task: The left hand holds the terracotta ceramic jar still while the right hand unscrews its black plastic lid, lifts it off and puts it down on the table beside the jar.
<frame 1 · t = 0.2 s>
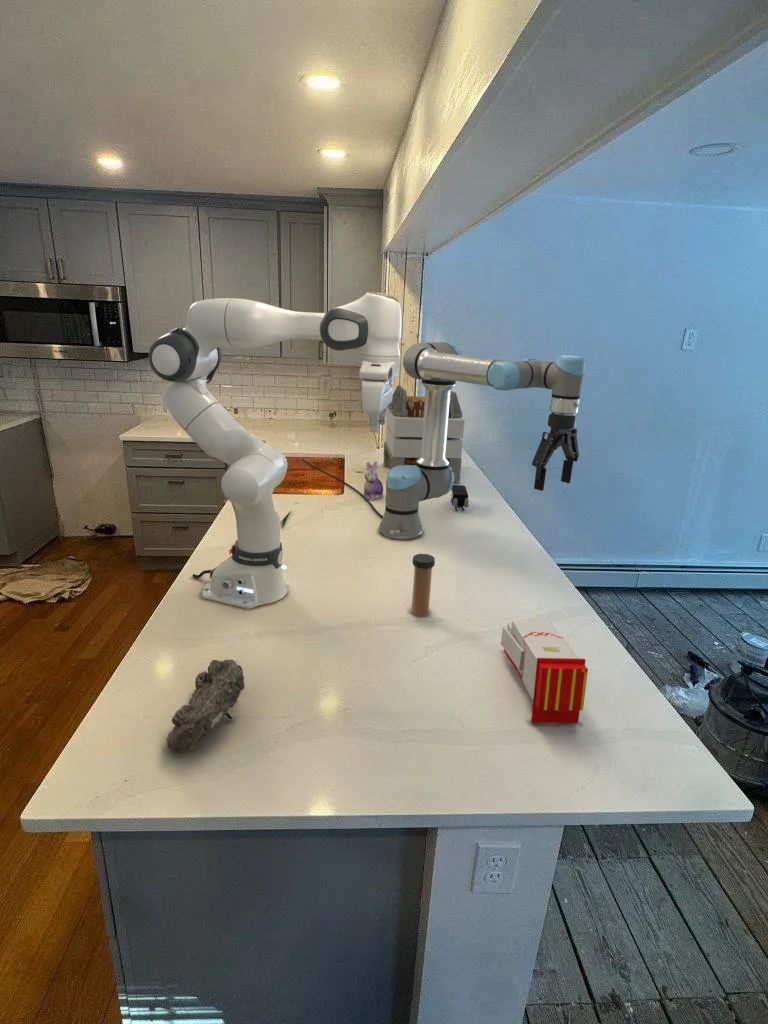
left hand: (377, 427, 135), 48 cm above the counter, tool pointing down, fingers open, 8 cm apart
right hand: (552, 485, 166), 28 cm above the counter, tool pointing down, fingers open, 13 cm apart
toy: (534, 680, 123), on the counter
jar: (419, 611, 149), on the counter
lid: (423, 559, 144), point 15 cm above the counter, screwed on, not yet turned
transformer: (419, 473, 275), on the counter
figurine: (372, 497, 237), on the counter
figurine character: (458, 507, 230), on the counter
feather: (289, 514, 213), on the counter
fossil: (212, 717, 108), on the counter
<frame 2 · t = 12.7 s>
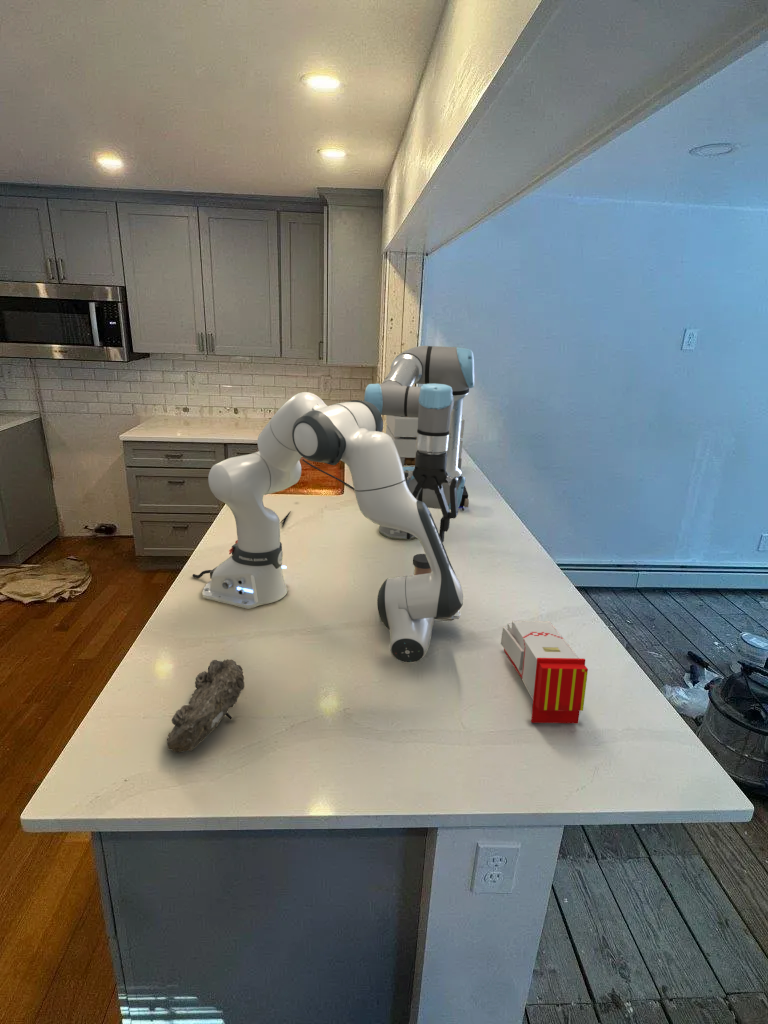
left hand: (421, 588, 148), 6 cm above the counter, tool horizontal, fingers closed on jar, 4 cm apart
right hand: (425, 539, 142), 21 cm above the counter, tool pointing down, fingers open, 7 cm apart
jar: (420, 611, 149), on the counter, touching left hand
everything else where it was.
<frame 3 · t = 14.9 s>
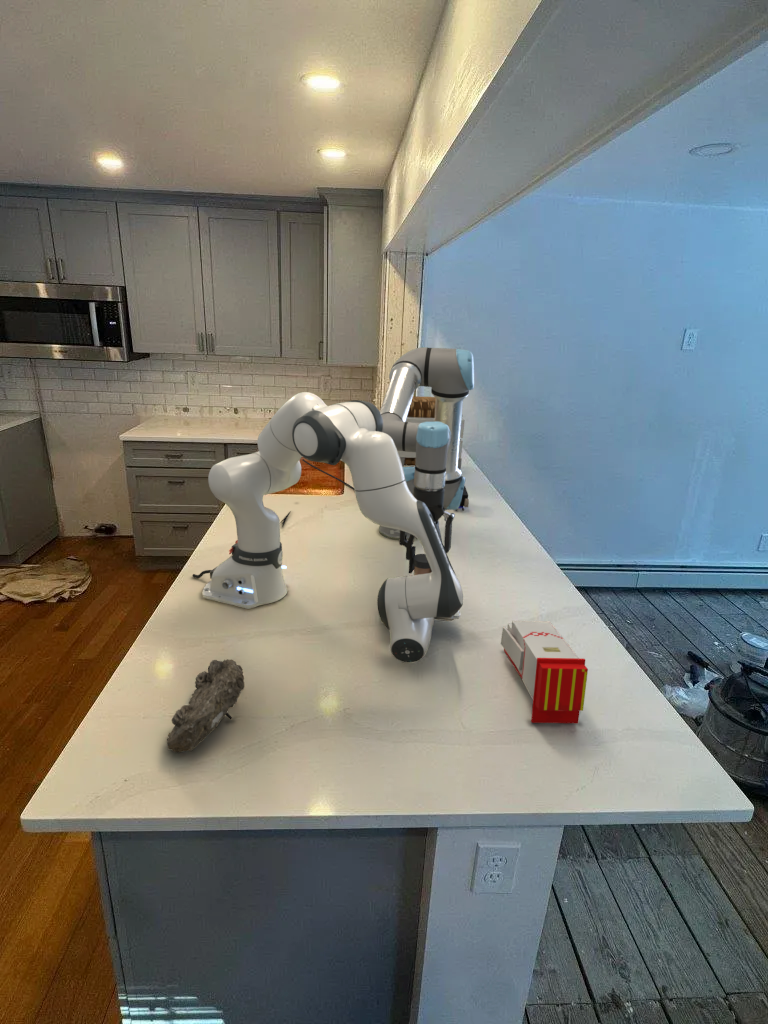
left hand: (421, 588, 148), 6 cm above the counter, tool horizontal, fingers closed on jar, 4 cm apart
right hand: (422, 573, 145), 11 cm above the counter, tool pointing down, fingers closed on lid, 5 cm apart
jar: (420, 611, 149), on the counter, touching left hand
lid: (423, 559, 144), point 15 cm above the counter, screwed on, not yet turned, touching right hand
everything else where it was.
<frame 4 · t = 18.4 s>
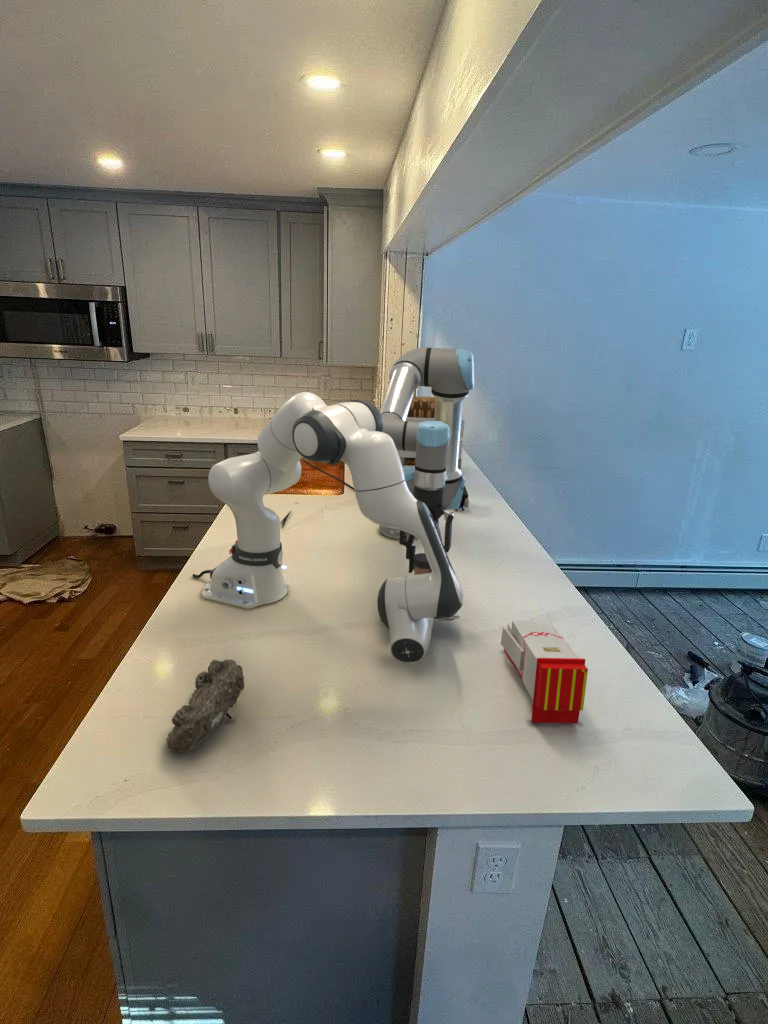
left hand: (421, 588, 148), 6 cm above the counter, tool horizontal, fingers closed on jar, 4 cm apart
right hand: (422, 572, 145), 11 cm above the counter, tool pointing down, fingers closed on lid, 5 cm apart
jar: (420, 611, 149), on the counter, touching left hand
lid: (423, 558, 144), point 15 cm above the counter, turned 118° so far, risen 0.2 cm, still on its thread, touching right hand
everything else where it was.
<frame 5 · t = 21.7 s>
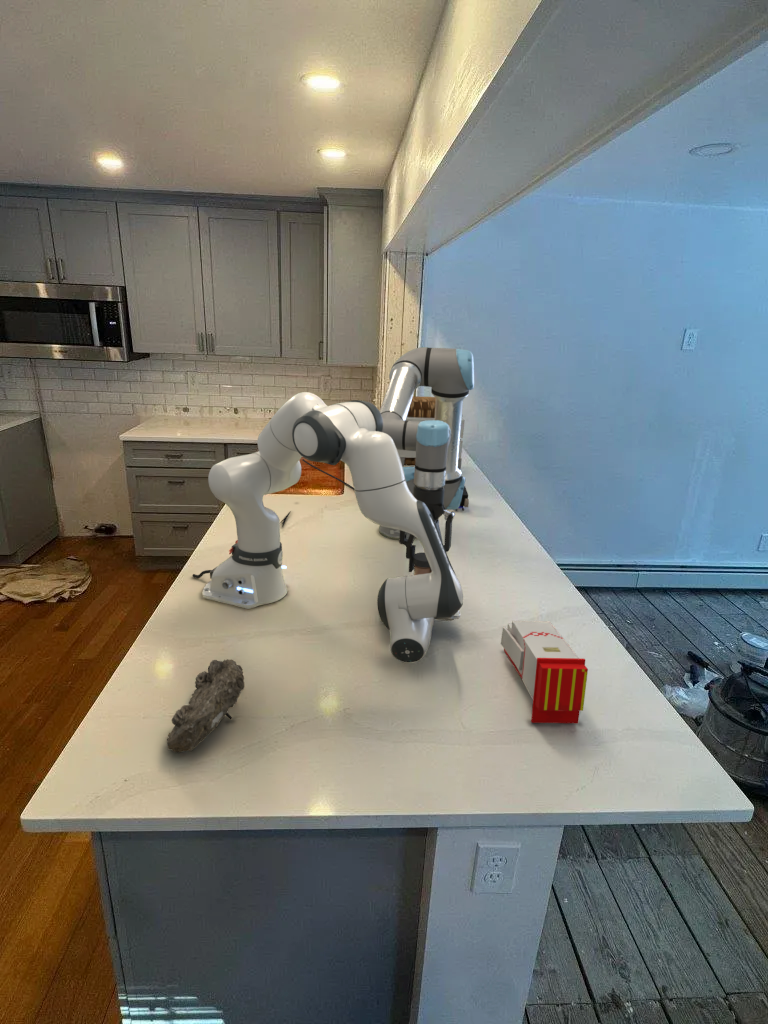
left hand: (421, 588, 148), 6 cm above the counter, tool horizontal, fingers closed on jar, 4 cm apart
right hand: (422, 572, 145), 12 cm above the counter, tool pointing down, fingers closed on lid, 5 cm apart
jar: (420, 611, 149), on the counter, touching left hand
lid: (423, 558, 144), point 16 cm above the counter, turned 236° so far, risen 0.3 cm, still on its thread, touching right hand
everything else where it was.
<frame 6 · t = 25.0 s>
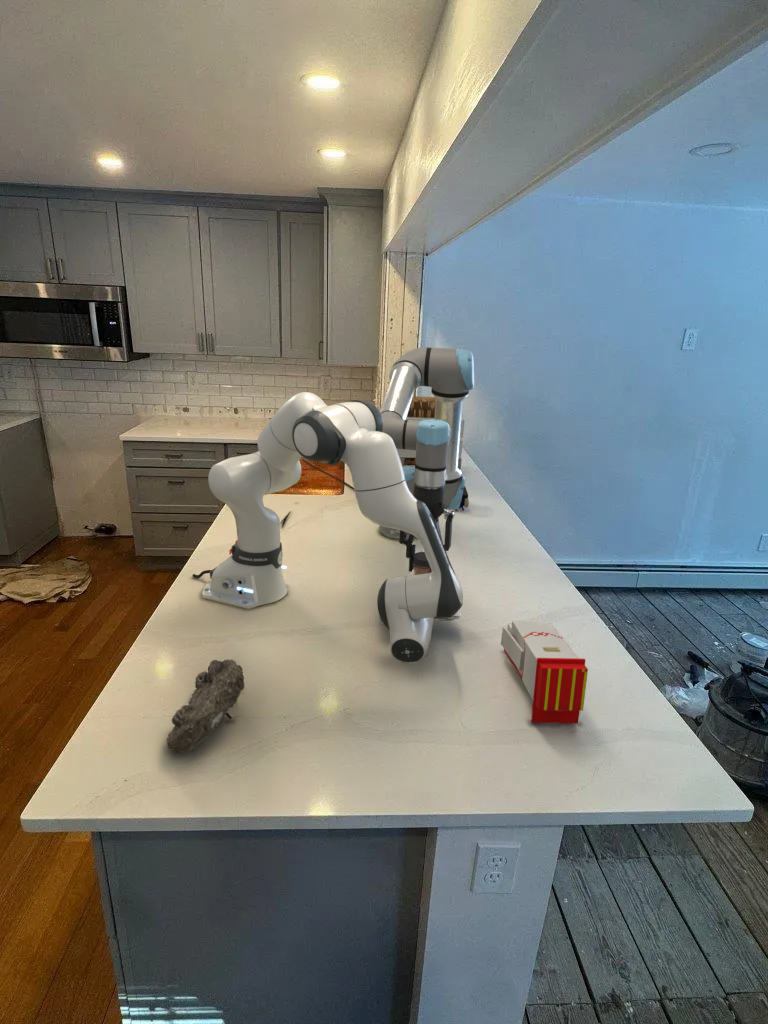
left hand: (421, 588, 148), 6 cm above the counter, tool horizontal, fingers closed on jar, 4 cm apart
right hand: (422, 571, 145), 12 cm above the counter, tool pointing down, fingers closed on lid, 5 cm apart
jar: (420, 611, 149), on the counter, touching left hand
lid: (423, 557, 144), point 16 cm above the counter, turned 353° so far, risen 0.5 cm, still on its thread, touching right hand
everything else where it was.
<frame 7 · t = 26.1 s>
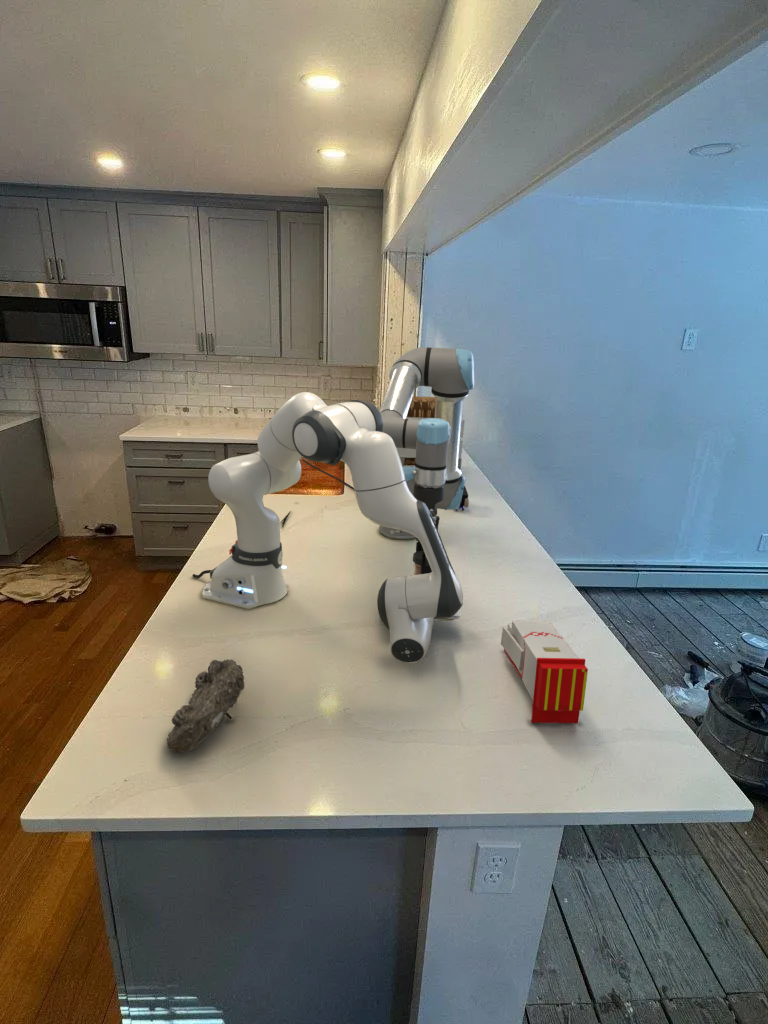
left hand: (421, 588, 148), 6 cm above the counter, tool horizontal, fingers closed on jar, 4 cm apart
right hand: (423, 570, 145), 12 cm above the counter, tool pointing down, fingers closed on lid, 5 cm apart
jar: (420, 611, 149), on the counter, touching left hand
lid: (424, 556, 144), point 16 cm above the counter, off its thread, touching right hand
everything else where it was.
when the right hand's fingers open (0 cm above the counter, at t = 31.5 s): lid drops 3 cm, point 1 cm above the counter.
when the left hand's fingers open (6 cm above the counter, at t = 32.6 s): jar stays where it is, on the counter.
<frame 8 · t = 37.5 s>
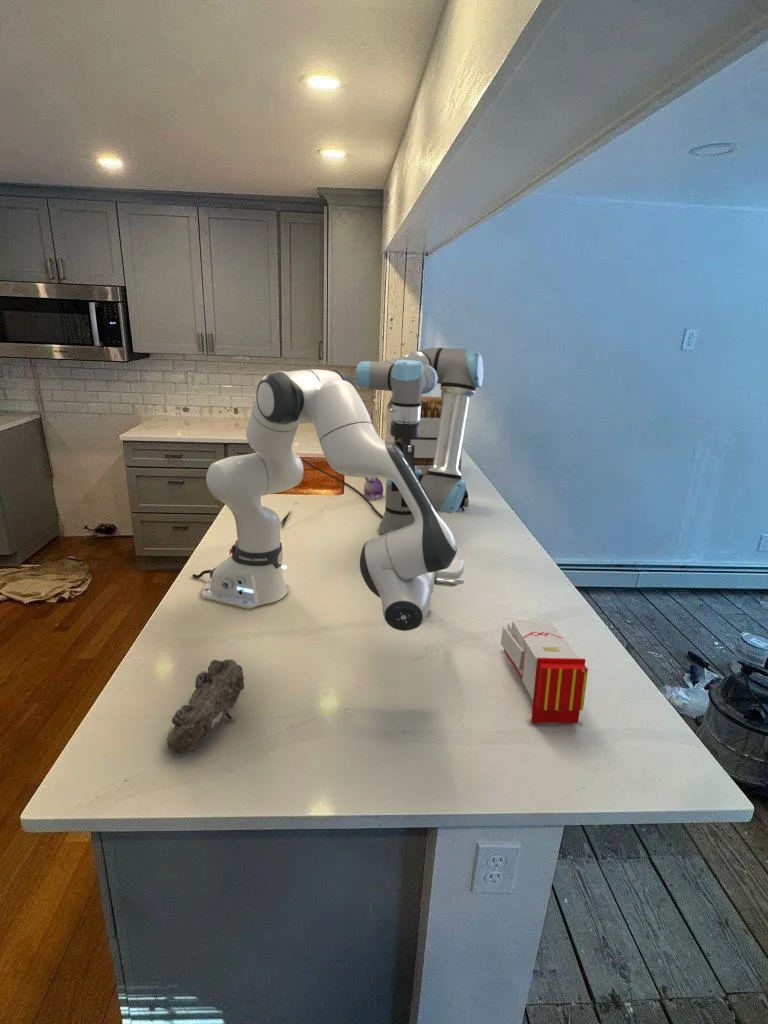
left hand: (420, 553, 131), 22 cm above the counter, tool horizontal, fingers open, 8 cm apart
right hand: (400, 498, 155), 26 cm above the counter, tool pointing down, fingers open, 13 cm apart
jar: (420, 611, 149), on the counter
lid: (396, 579, 163), point 1 cm above the counter, off its thread
everything else where it was.
at the end: lid came off its thread; lid point 1.4 cm above the counter; the left hand is holding nothing; the right hand is holding nothing; jar tilted 0°; jar moved 0.0 cm from its start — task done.
